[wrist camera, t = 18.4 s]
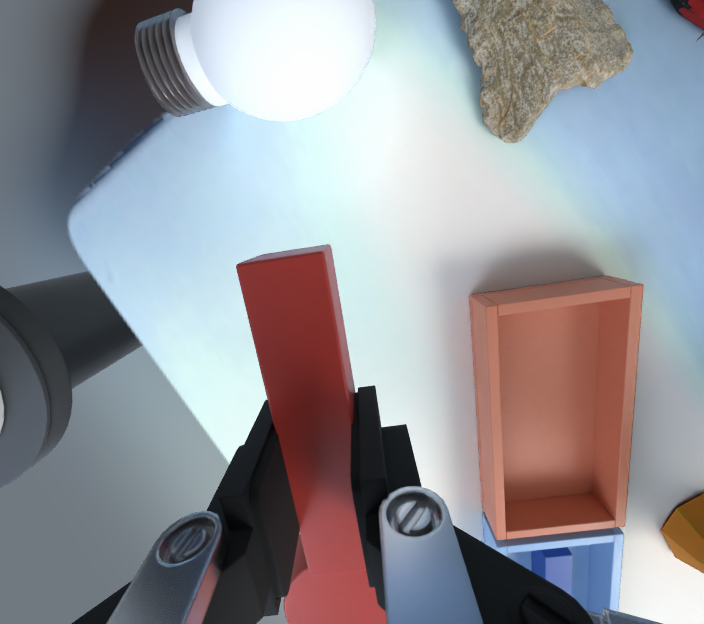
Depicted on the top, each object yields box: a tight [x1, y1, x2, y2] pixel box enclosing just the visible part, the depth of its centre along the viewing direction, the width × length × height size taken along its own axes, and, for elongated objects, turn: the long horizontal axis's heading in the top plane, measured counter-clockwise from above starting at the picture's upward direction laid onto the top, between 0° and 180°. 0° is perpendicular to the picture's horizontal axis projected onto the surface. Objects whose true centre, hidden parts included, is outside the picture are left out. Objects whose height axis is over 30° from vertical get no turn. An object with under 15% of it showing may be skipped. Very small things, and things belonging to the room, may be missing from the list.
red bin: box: [469, 276, 643, 540], centre depth 24 cm, size 9×17×3 cm, turn 9°
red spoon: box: [236, 244, 387, 624], centre depth 10 cm, size 4×13×2 cm, turn 9°
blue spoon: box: [531, 547, 572, 595], centre depth 28 cm, size 4×13×2 cm, turn 9°
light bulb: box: [135, 0, 376, 121], centre depth 17 cm, size 7×7×11 cm
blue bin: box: [483, 513, 624, 615], centre depth 28 cm, size 9×17×3 cm, turn 9°
